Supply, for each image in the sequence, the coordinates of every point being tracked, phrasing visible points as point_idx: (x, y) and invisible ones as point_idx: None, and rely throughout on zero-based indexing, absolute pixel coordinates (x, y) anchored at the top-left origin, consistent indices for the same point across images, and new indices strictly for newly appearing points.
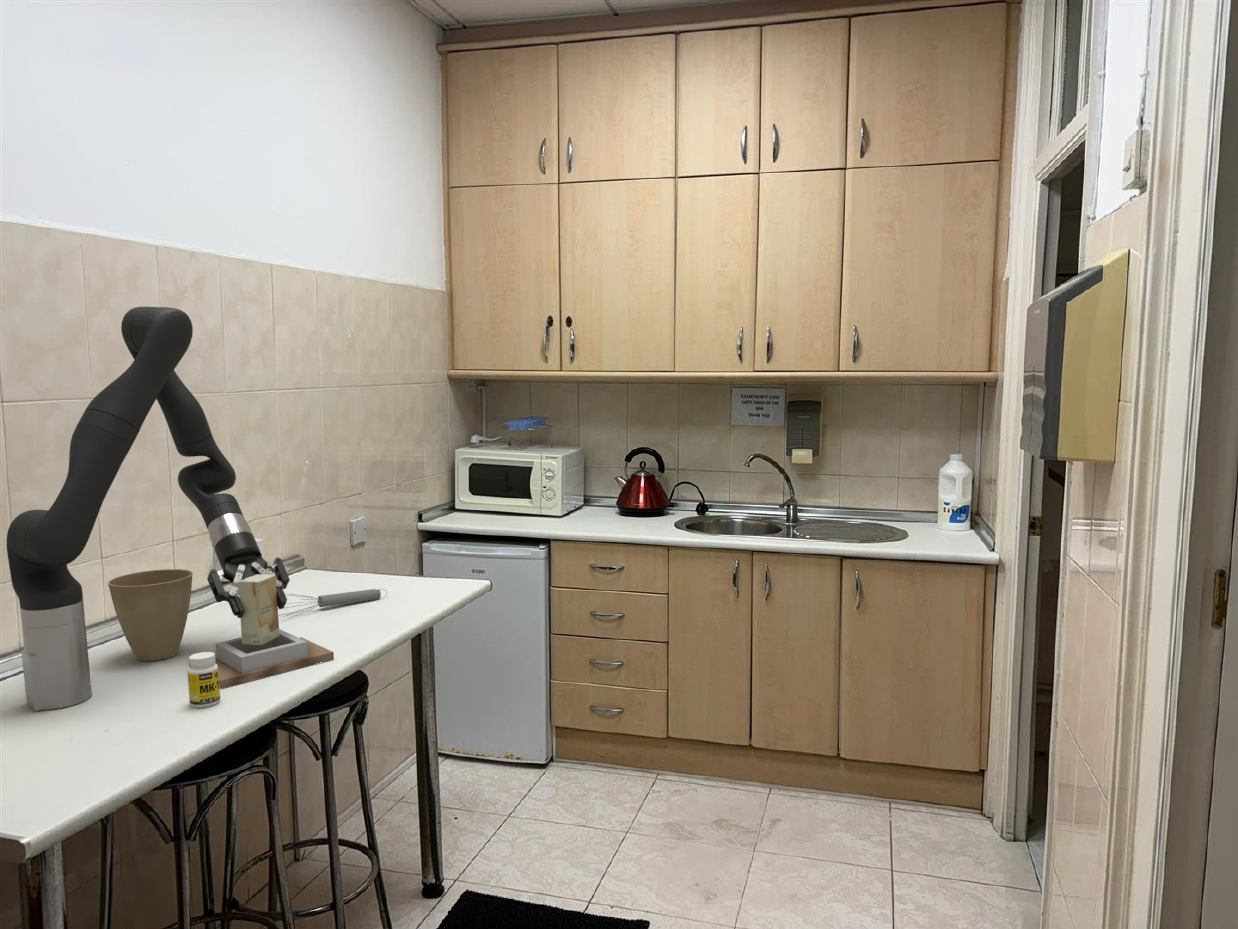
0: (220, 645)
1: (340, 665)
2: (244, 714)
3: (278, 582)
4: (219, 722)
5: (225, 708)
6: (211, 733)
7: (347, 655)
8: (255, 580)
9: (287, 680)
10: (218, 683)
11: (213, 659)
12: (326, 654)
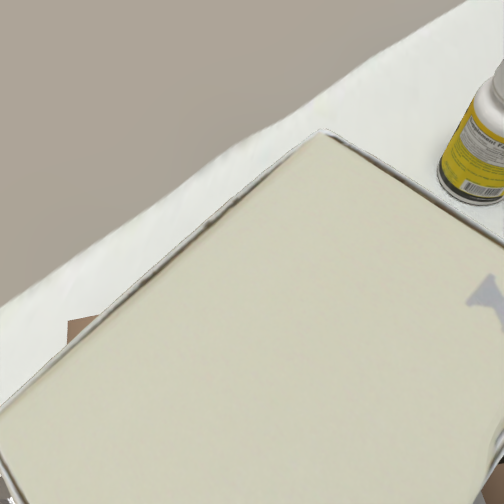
0: (479, 496)
1: (93, 264)
2: (383, 80)
3: (6, 495)
4: (434, 67)
5: (422, 125)
6: (448, 31)
7: (29, 345)
8: (339, 199)
9: None
10: (456, 129)
11: (502, 60)
12: (94, 316)
